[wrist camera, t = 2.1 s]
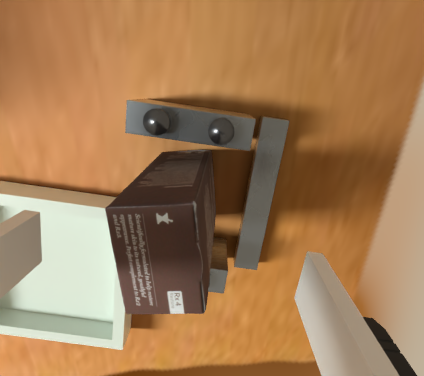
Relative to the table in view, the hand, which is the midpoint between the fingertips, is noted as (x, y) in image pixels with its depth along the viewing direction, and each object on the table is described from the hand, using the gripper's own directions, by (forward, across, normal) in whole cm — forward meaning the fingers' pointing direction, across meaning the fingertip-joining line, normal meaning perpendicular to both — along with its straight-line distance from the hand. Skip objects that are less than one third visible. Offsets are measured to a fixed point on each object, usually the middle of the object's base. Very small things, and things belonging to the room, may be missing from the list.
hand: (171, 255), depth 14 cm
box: (+11, 0, 0) cm, 11 cm away
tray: (+11, -12, -9) cm, 18 cm away
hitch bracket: (+11, +1, 0) cm, 11 cm away
